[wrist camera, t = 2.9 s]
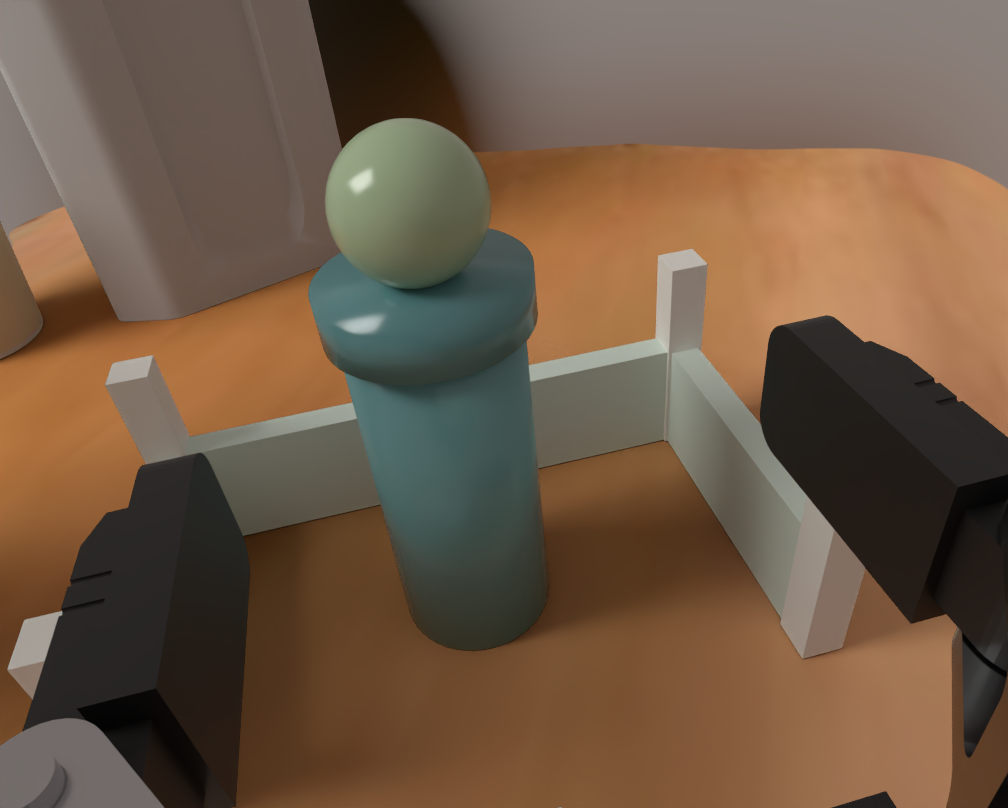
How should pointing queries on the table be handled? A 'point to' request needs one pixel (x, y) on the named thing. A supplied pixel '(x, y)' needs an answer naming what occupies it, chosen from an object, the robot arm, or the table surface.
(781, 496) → the rectangular frame with posts
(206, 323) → the table surface
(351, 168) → the teal peg with ball
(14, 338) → the coffee cup
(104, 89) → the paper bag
